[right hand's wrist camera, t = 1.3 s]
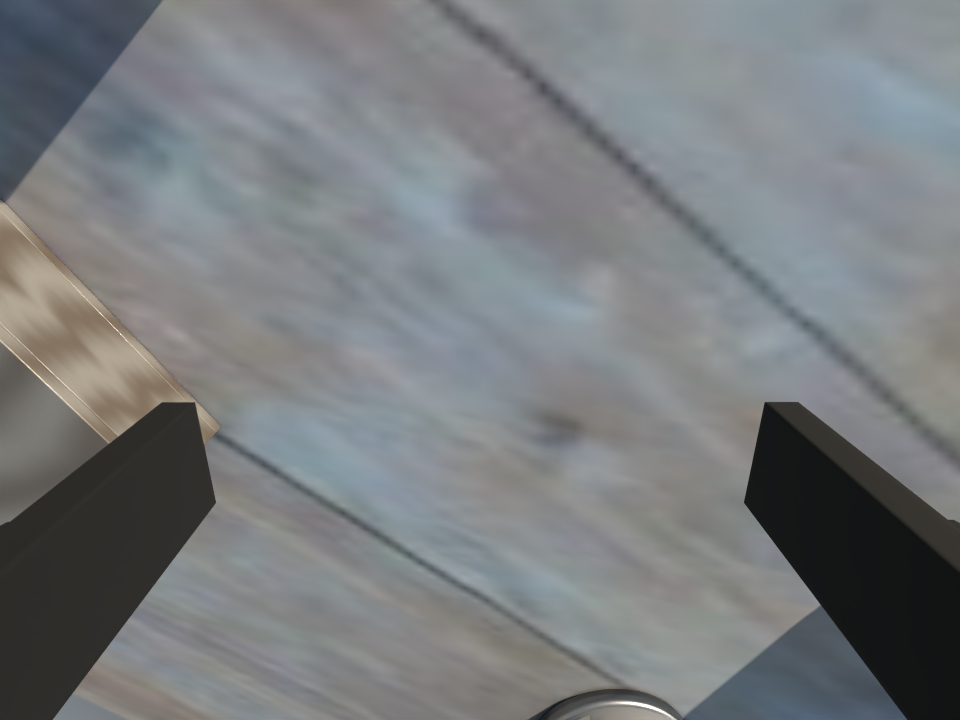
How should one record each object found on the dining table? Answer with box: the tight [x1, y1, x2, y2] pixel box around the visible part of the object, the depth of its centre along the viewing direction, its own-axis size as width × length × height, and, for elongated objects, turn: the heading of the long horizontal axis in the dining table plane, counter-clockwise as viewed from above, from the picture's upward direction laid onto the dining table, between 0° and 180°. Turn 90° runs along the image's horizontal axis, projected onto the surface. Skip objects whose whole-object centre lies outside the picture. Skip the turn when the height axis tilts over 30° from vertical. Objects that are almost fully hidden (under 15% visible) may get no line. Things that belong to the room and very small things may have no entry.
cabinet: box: [0, 199, 221, 525], centre depth 34 cm, size 21×11×8 cm, turn 35°
